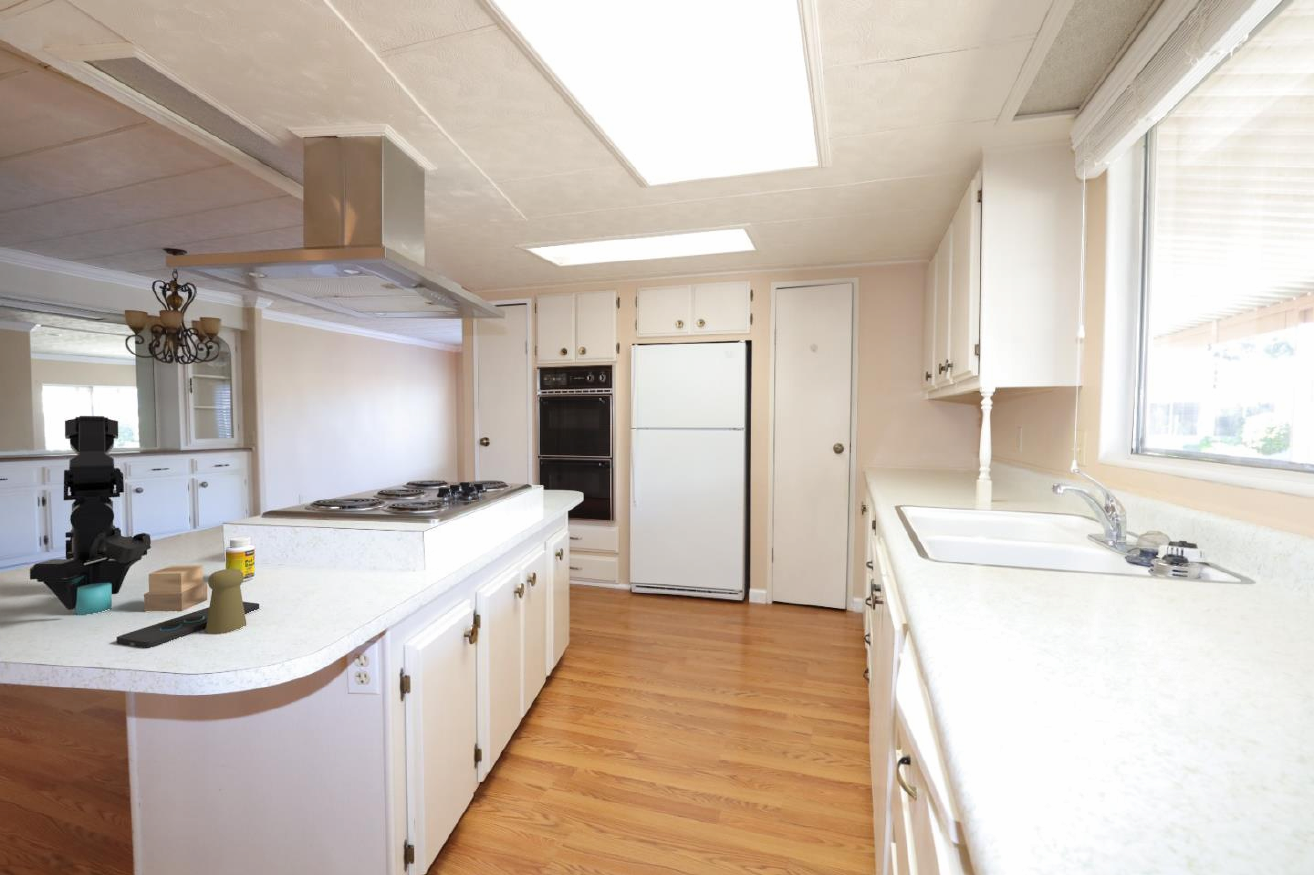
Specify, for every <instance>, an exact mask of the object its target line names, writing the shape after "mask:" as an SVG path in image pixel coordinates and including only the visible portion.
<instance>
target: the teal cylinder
mask: <svg viewBox="0 0 1314 875" xmlns="http://www.w3.org/2000/svg"><path fill="white" fill-rule="evenodd" d="M112 596H113V594H112V584H111V583H96V584H90V585H85V586H81V587H78V588H77V602H76V608H75V615H76V614H77V615H76V616H88V615H87V614H91V615H94V614H93V613H97V614H99V613H98V612H101V613H103V612H102V611H105V610H108V609H110V608H111V607H112V608H113V603H112V602H113V597H112ZM112 608H111V609H112ZM111 609H110V610H111ZM108 611H109V610H108ZM105 612H106V611H105Z"/></svg>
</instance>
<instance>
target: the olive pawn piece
mask: <svg viewBox="0 0 1314 875" xmlns="http://www.w3.org/2000/svg"><path fill="white" fill-rule="evenodd" d="M243 579H244V575H243V573H242V571H241V570H238V569H226V568H224V569H220V570H217V571H214V572H213V573H211V574H210V575H209V576H208V580H207V586H208V587H209V588H210V590H211V595H210V601H209V605H208V607H209V612H208V619H207V625H206V629H205V634H208V635H222V634H221V633H223V634H228V633H227V632H229V633H232V632H231V631H233V632H235V631H234V630H236V629H239V630H241V629H242V628H241V627H243V626H245V627H246V626H247V618H246V615H245V612H244V606H243V602H244V600H243V595H242V590H241V585H242V584H243V583H244V582H243ZM240 628H241V629H240ZM236 631H237V630H236Z"/></svg>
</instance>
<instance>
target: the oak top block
mask: <svg viewBox="0 0 1314 875" xmlns="http://www.w3.org/2000/svg"><path fill="white" fill-rule="evenodd" d="M203 566H204V565H202V564H201V565H200V564H199V565H197V564H196V565H191V564H190V565H170V566H168V567H164V568H161V569H158V570H156V571H153V572H150V573H148V592H149V593H182V592H184V591H186V590H189V589H191V588H193V587H196V586H198V585H201V584H203V583H204V582H203V581H204V579H203V578H204V577H203V576H204V574H203V573H204V572H203V570H204V569H203Z"/></svg>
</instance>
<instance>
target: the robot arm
mask: <svg viewBox="0 0 1314 875" xmlns="http://www.w3.org/2000/svg"><path fill="white" fill-rule="evenodd" d="M64 438H65V440H69V443H70V444H69V445H70V448H71V450H72V451H73V452H74V453H75V454H76V455H75V456H73V457H72V458H71V459H69V465H68V469H63V501H73V503H71V513H70V517H69V519H70V520H69V521H70V522H69V523H70V524H71V530H70V531H66V532H65V533H64V534H65V535H64V536H65V538H69V539H66V540H65V559H64V558H60V559H59V558H55V559H49V560H45V561H41V562H38V563H35V564H33V565H32V566H31V567H30V568H29V580H36V581H37V582H38V583H43V584H44V585H45V586H46V587H47V588H48V589H49V590H50V591H51V592H52V593H54V595H55V596H56V597H57V599H58V600H59V601H60V602H61V603H62V605H63V606H64V607H65V608H66V609H67V610H76V602H77V588H78V587H81V586H85V585H90V584H96V583H111V584H112V595H117V594H119V592H120V590H121V587H122V585H123V584H124V583H123V582H124V581H125V578H126V577H127V574H128V572H129V570H130V568H131V566H133V565H134V564H136V563H137V562H139V561H141V560H142V558H143V556H146V555H148V550H150V549H151V548H152V546H151V545H152V544H151V543H152V540H151V539H152V538H151V535H150V534H148V533H145V532H141V533H136V534H135V535H134V536H131V535H129V536H124V535H122V530H121V529H120V527H116V526H115V525H114V521H115V520H114V519H115V512H114V501H113V500H112V499H111V498H120V497H121V493H124V492H125V486H124V485H125V482H124V481H125V480H124V472H122V471H121V469H120V468H119V467H115V459H114V458H113V457H112V456H110V455H108V454H109V453H110V452H111V451H112V450H113V448H114V446H115V439H119V421H118V420H115V419H110V418H109V417H105V416H103V415H79V416H76V417H75V418H71V419H67V420H64ZM114 490H115V491H114ZM69 493H70V494H69Z"/></svg>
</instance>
